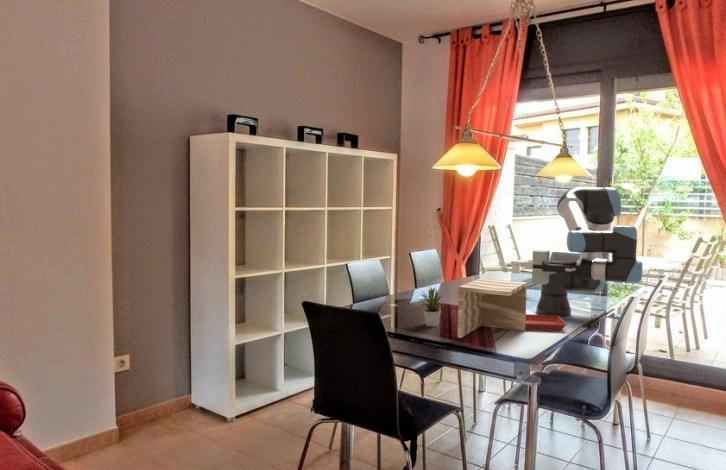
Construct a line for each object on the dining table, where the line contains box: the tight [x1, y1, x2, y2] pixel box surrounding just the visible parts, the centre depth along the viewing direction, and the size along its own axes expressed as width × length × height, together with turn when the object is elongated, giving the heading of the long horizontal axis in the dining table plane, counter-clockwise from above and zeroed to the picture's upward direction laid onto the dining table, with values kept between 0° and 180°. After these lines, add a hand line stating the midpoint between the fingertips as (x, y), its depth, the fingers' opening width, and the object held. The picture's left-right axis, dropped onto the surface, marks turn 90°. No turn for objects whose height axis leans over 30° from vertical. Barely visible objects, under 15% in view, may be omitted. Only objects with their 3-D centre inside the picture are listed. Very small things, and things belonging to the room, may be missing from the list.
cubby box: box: [457, 278, 528, 339], centre depth 210 cm, size 24×20×20 cm
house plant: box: [417, 286, 444, 327], centre depth 225 cm, size 14×14×16 cm
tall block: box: [531, 249, 551, 285], centre depth 199 cm, size 5×5×12 cm
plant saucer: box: [525, 313, 567, 332], centre depth 224 cm, size 18×18×3 cm
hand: (526, 264), depth 201 cm, fingers closed on tall block, 5 cm apart
